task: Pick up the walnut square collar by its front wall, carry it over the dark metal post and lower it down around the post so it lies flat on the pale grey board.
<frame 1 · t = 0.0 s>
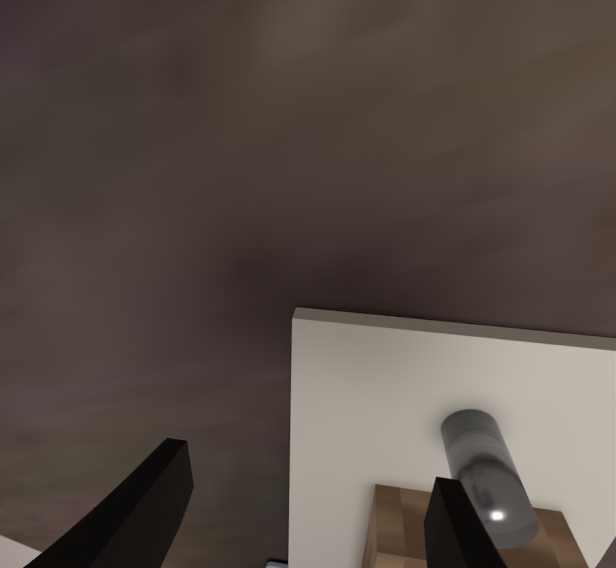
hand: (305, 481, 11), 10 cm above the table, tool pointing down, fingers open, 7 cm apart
square collar: (448, 550, 25), point 1 cm above the table, touching post board
post board: (444, 482, 24), on the table
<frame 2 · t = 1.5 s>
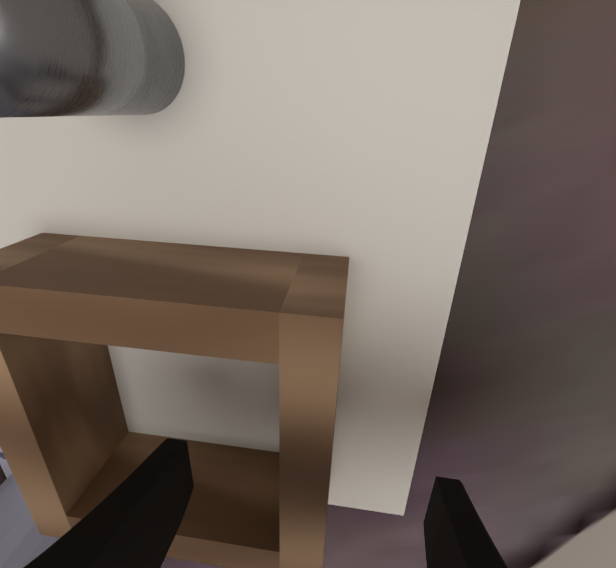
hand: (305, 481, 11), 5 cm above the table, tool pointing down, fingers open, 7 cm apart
square collar: (203, 372, 15), point 1 cm above the table, touching post board
post board: (178, 244, 14), on the table
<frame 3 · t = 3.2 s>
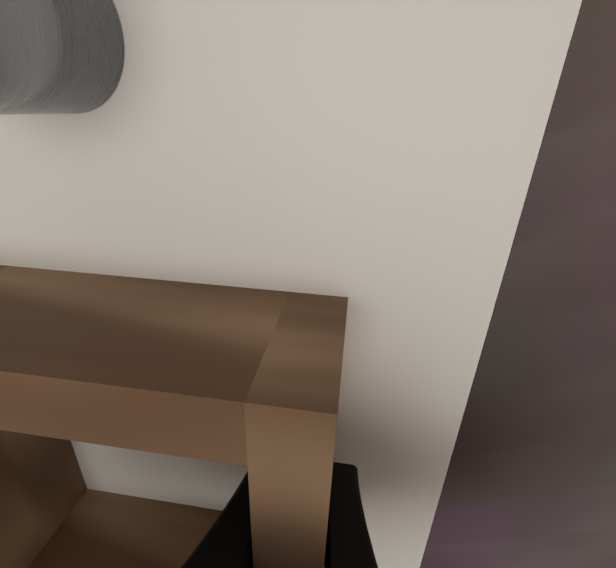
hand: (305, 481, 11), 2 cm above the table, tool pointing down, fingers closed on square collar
square collar: (170, 427, 12), point 1 cm above the table, touching gripper, post board
post board: (136, 274, 11), on the table
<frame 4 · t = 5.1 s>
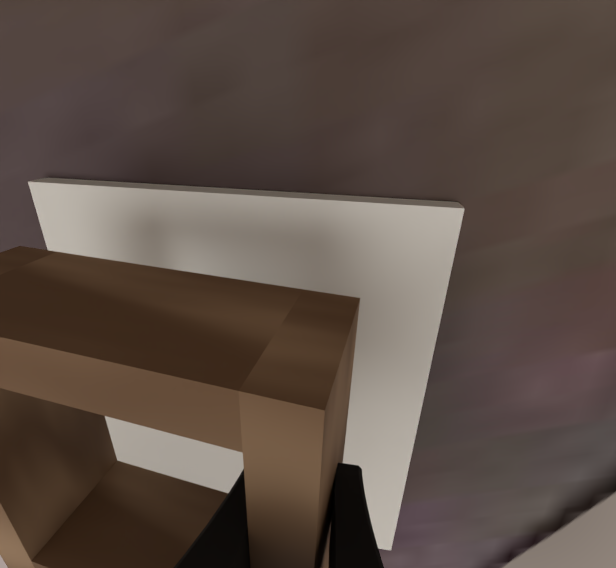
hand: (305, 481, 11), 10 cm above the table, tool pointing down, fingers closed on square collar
square collar: (190, 411, 13), point 8 cm above the table, tilted 7°, touching gripper
post board: (249, 386, 23), on the table
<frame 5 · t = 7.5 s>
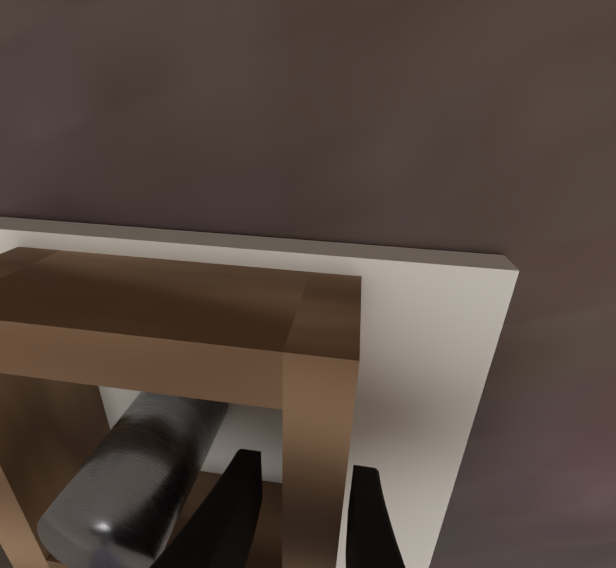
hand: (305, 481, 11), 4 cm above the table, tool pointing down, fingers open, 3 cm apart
square collar: (198, 398, 14), point 1 cm above the table, touching post board
post board: (214, 476, 17), on the table
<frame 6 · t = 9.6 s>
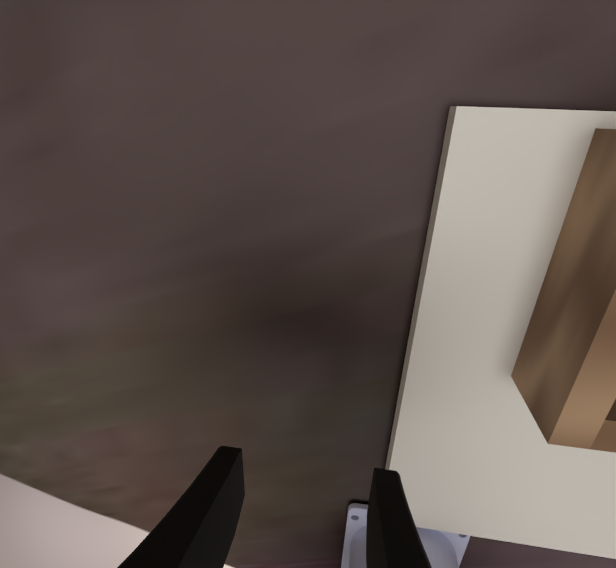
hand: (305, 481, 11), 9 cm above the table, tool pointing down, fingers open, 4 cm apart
post board: (609, 379, 18), on the table
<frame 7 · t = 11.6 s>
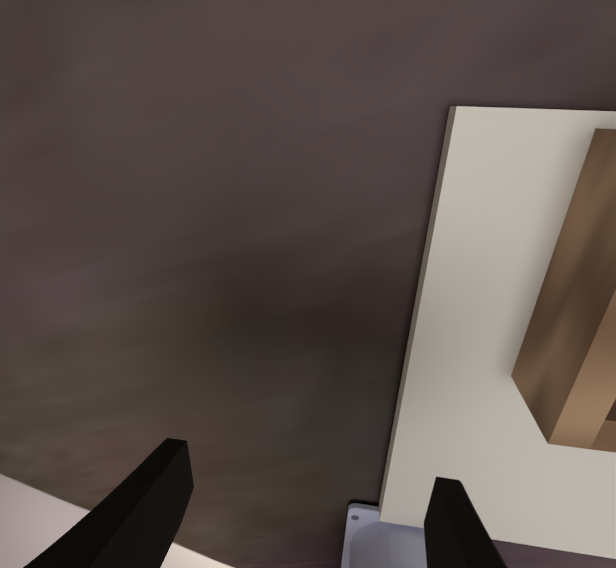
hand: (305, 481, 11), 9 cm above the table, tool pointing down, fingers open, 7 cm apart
post board: (609, 379, 18), on the table
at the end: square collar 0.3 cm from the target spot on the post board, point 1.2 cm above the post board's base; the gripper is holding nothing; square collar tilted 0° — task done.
